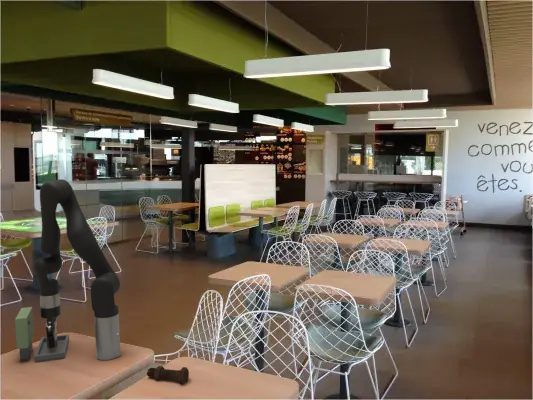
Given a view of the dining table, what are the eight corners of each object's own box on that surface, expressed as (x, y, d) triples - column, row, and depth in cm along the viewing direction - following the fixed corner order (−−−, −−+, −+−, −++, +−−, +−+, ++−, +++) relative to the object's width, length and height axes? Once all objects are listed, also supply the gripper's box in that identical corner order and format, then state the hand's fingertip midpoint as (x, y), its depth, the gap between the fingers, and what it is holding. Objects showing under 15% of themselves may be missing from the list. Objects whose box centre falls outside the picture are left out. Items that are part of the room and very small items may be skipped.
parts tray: (69, 339, 203) (68, 334, 203) (65, 358, 184) (64, 352, 184) (41, 343, 200) (41, 337, 199) (34, 362, 181) (34, 356, 181)
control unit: (36, 348, 194) (33, 306, 193) (31, 362, 181) (28, 317, 180) (23, 349, 193) (20, 308, 191) (17, 364, 180) (14, 319, 178)
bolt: (150, 381, 169) (187, 385, 165) (143, 380, 165) (181, 384, 161) (153, 364, 172) (190, 368, 167) (146, 362, 167) (184, 366, 163)
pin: (58, 344, 194) (57, 327, 194) (57, 347, 190) (56, 331, 190) (47, 345, 193) (46, 329, 192) (46, 349, 189) (45, 332, 188)
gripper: (58, 309, 184) (60, 350, 186) (61, 298, 198) (63, 337, 200) (37, 311, 182) (40, 352, 184) (42, 300, 196) (44, 339, 197)
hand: (52, 344), depth 192 cm, fingers closed on pin, 4 cm apart
